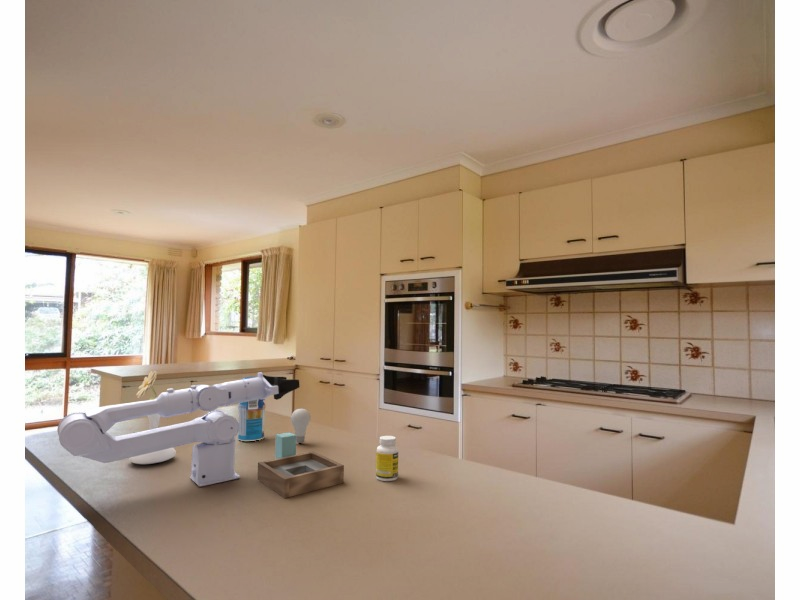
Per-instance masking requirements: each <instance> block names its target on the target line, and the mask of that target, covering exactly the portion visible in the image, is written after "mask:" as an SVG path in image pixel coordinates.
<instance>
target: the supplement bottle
mask: <svg viewBox="0 0 800 600" xmlns="http://www.w3.org/2000/svg"><path fill="white" fill-rule="evenodd" d="M396 438H397V437H396V436H393V435H382V436H380V437H379V444H380V445H378V446H377V448H376V456H375V457H376V461H375V463H376V464H375V465H376V466H375V468H376V469H375V473H376V474H375V477H376V479H377V480H378V481H381V482H393V481H396V480H397V479H398V478H399V447H398V446H397V445H396V444H397V439H396Z"/></svg>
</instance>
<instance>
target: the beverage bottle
mask: <svg viewBox="0 0 800 600" xmlns="http://www.w3.org/2000/svg"><path fill="white" fill-rule="evenodd" d="M256 377H257V376H249V377H248V376H247V377H243V378H242V379H241V380H243V379H249V378H256ZM265 400H266V398H265V399H262V400H261V399H258V400H253V401H248V402H243V403H238V424H239V430H238V433H237V439H239V440H243V441H250V440H257V439H261V438H263V437H264V438H265V420H266V419H265V412H266V403H265ZM264 438H263V439H264ZM239 440H238V441H239Z"/></svg>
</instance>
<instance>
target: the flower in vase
mask: <svg viewBox="0 0 800 600" xmlns="http://www.w3.org/2000/svg"><path fill="white" fill-rule="evenodd" d="M157 374H158V373H157V371H156V370H153V371H150V372H149V373H148V376H145V377H143V381H142V383H141V385H139V386H138V391H137V392H136V394H135V396H137V397H136V398H137V399H139V398H140V399H141V398H142V397H144V396H145V395H146V394H147V393H148V392H149V391H150V389H152V392H153V394H154V396H155V397H154V396H153V395H152V396H150V398H149V399H148V400H154V399H156V398H157V397H158V395H157V392H156V390H155V388H154V387H153V385H154V383H155V381H156V379H157ZM146 417H147V419H148V430H151V429H156V428H160V427H159V426H160V420H161V417H162V416H160V415H159V414H152V415H148V416H146ZM176 454H177V451H176V449H175V447H173V448H169V449H164V450H160V451H156V452H152V453H147V454H143V455H139V456H135V457H131V458H127V459H128V460H129V462H131V463H133V464H136V465H151V464H157V463H163V462H165V461H168V460H170V459H172V458H174V457H175V455H176Z"/></svg>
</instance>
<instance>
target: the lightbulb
mask: <svg viewBox="0 0 800 600" xmlns="http://www.w3.org/2000/svg"><path fill="white" fill-rule="evenodd" d="M290 422H291V424H292V426H293V429H294V433H295V435H296V444H297V443H298V444H299V443H302V444H303V443H304V442H305V439H306V437H305V436H306V432H307V428H308V426H309V424H310V422H311V413H310V412H309V411H308V410H307V409H305V408H297V409H294V411H293V412H292V413H291V416H290Z"/></svg>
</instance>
